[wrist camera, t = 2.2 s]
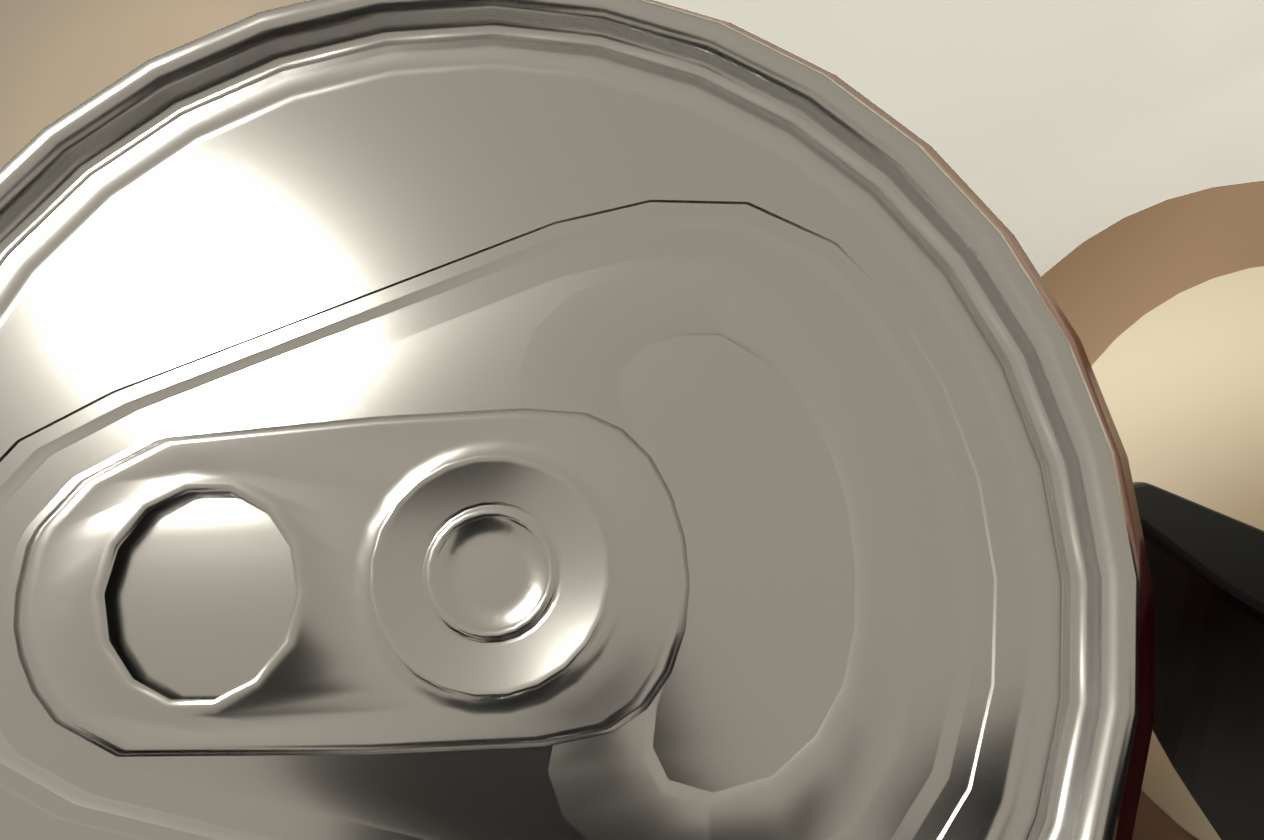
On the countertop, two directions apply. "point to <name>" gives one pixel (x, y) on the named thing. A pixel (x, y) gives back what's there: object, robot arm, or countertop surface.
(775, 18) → the countertop surface
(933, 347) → the soda can
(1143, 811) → the pedestal
